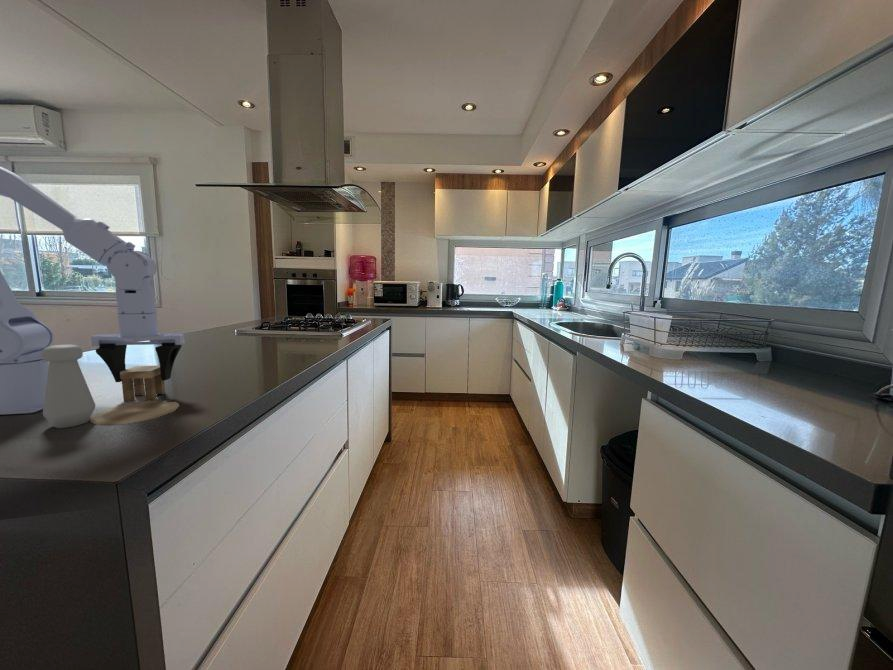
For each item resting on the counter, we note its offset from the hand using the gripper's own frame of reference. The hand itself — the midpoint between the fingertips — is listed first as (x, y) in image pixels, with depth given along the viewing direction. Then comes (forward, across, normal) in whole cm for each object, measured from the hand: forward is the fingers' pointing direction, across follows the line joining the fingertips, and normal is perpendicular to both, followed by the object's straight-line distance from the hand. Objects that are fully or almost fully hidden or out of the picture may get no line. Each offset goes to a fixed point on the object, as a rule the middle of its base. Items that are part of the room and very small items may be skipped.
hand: (143, 380), depth 70 cm
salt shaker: (+4, -4, -13) cm, 14 cm away
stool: (+4, 0, 0) cm, 4 cm away
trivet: (+4, +3, -9) cm, 10 cm away
